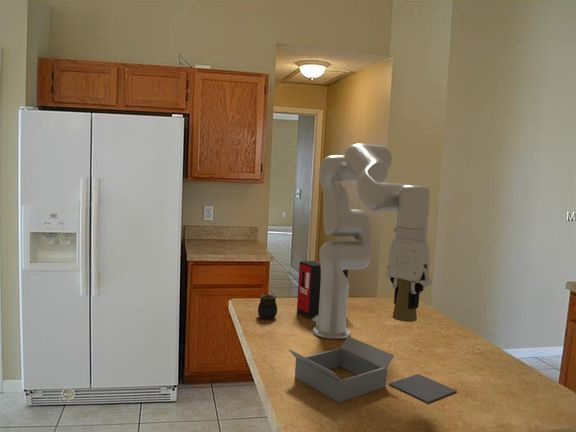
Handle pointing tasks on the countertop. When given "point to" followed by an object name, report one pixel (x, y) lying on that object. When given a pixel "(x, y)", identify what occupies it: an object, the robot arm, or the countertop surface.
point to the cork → (404, 303)
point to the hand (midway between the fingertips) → (405, 305)
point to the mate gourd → (267, 307)
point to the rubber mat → (423, 388)
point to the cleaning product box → (310, 288)
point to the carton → (351, 357)
